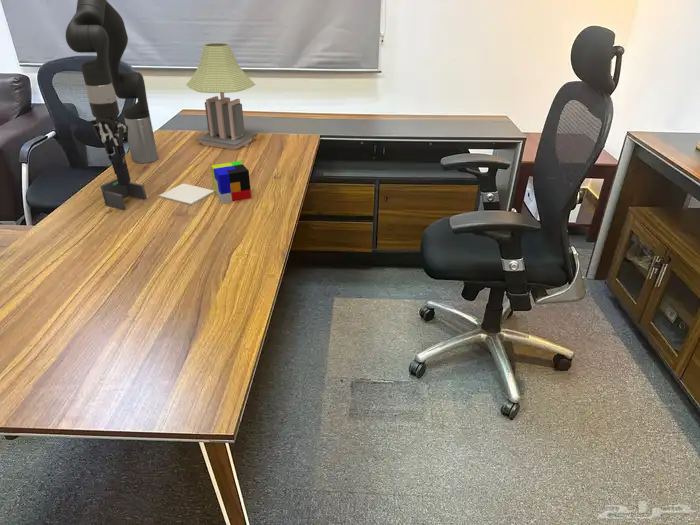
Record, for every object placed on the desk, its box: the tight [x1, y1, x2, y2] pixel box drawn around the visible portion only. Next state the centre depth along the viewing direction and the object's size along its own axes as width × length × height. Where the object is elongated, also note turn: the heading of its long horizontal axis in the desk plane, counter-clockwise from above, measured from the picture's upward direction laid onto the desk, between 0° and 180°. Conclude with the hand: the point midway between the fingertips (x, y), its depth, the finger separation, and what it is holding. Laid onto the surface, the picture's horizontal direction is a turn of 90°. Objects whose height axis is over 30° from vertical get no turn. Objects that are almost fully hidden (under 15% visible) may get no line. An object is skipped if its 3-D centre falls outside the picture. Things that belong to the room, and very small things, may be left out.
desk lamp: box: [185, 42, 258, 151], centre depth 206 cm, size 26×28×40 cm
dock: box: [99, 178, 148, 211], centre depth 161 cm, size 8×10×7 cm
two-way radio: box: [107, 139, 131, 186], centre depth 155 cm, size 6×4×15 cm
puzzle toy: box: [210, 160, 252, 204], centre depth 166 cm, size 10×10×10 cm
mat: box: [158, 183, 215, 206], centre depth 168 cm, size 14×12×1 cm
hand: (116, 154), depth 154 cm, fingers closed on two-way radio, 4 cm apart
